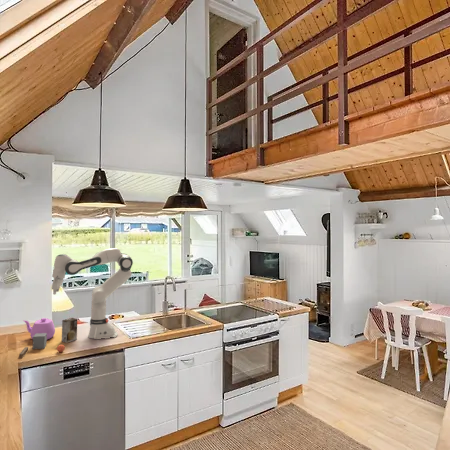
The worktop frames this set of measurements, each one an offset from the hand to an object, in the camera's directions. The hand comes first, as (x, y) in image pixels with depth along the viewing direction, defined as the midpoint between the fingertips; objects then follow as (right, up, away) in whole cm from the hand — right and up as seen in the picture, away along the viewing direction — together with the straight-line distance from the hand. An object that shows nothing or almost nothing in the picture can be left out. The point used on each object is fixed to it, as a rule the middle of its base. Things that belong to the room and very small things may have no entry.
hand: (55, 292), depth 266 cm
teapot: (-13, -36, +3) cm, 38 cm away
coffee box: (+10, -37, 0) cm, 38 cm away
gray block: (-3, -36, -17) cm, 40 cm away
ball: (+16, -34, -25) cm, 45 cm away
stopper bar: (-6, -35, -31) cm, 48 cm away
